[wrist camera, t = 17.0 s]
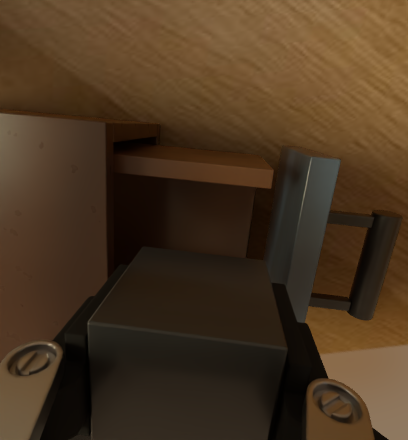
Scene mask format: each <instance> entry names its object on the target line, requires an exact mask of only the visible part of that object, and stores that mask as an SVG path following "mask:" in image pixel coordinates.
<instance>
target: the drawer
mask: <svg viewBox="0 0 408 440" xmlns="http://www.w3.org/2000/svg"><path fill="white" fill-rule="evenodd" d="M113 157H114V271H115V270H116V269H117V267H118V266H119V265H120V264H123V265H130V263H131V262H132V261H133V259H134V258H135V257H136V255H137V254H138V252H139V251H140V250H141V248H142V247H144V246H145V247H153V248H162V249H171V250H179V251H188V252H196V253H205V254H213V255H222V256H231V257H239V258H246V256H247V249H248V242H249V235H250V228H251V221H252V214H253V207H254V200H255V193H256V187H257V188H267V189H271V188H272V182H273V175H274V170H273V169H272V168H271V167H270V166H269V165H268V164H267V163H266V161H265V160H264V159H263V158H262V157H261V156H259V155H254V154H243V153H233V152H223V151H212V150H202V149H192V148H182V147H171V146H161V145H151V144H140V143H130V142H113ZM340 163H341V160H340V159H338V158H334V157H331V156H328V155H325V154H321V153H318V152H315V151H312V150H308V149H305V148H302V147H295V146H284V145H283V146H282V148H281V154H280V160H279V166H278V172H277V178H276V185H275V191H274V197H273V203H272V209H271V215H270V222H269V228H268V234H267V240H266V246H265V252H264V258H263V260H264V261H266V264H267V268H268V272H269V276H270V280H271V282H272V283H280V284H285V286H286V289H287V292H288V295H289V298H290V301H291V304H292V307H293V310H294V313H295V316H296V320H297V322H301V323H305V319H306V315H307V310H308V306H312V307H320V308H328V309H336V310H345V311H347V312H348V313H349V314H350V315H351V316H353V317H355V318H357V319H361V320H371V319H372V318H373V315H374V311H375V308H376V305H377V302H378V298H379V295H380V292H381V288H382V285H383V282H384V279H385V275H386V272H387V269H388V265H389V262H390V259H391V256H392V252H393V249H394V246H395V242H396V239H397V236H398V233H399V229H400V226H401V223H402V219H403V216H402V215H400V214H397V213H394V212H390V211H384V210H373V211H372V214H371V215H369V214H361V213H352V212H342V211H333V210H330V208H331V203H332V199H333V194H334V190H335V185H336V181H337V176H338V172H339V167H340ZM327 223H330V224H339V225H348V226H358V227H367V232H366V236H365V240H364V243H363V247H362V251H361V254H360V258H359V262H358V266H357V269H356V273H355V277H354V280H353V284H352V288H351V292H350V295H349V299H348V297H342V296H334V295H326V294H317V293H311V292H312V288H313V283H314V279H315V274H316V270H317V266H318V261H319V257H320V252H321V248H322V243H323V239H324V234H325V230H326V225H327Z"/></svg>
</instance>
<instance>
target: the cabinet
mask: <svg viewBox="0 0 408 440" xmlns="http://www.w3.org/2000/svg"><path fill="white" fill-rule="evenodd" d="M159 139H160V124H158V123H147V122H137V121H126V120H115V119H104V118H94V117H83V116H72V115H61V114H50V113H40V112H29V111H18V110H7V109H0V363H1V362H2V360H3V359H4V358H5V357H6V355H7V354H8V353H9V352H11V351H12V350H14V349H15V348H17V347H19V346H21V345H23V344H25V343H28V342H32V341H36V340H51V341H52V340H53V339H54V338H55V337H56V335H57V334H58V333H59V332H60V331H61V329H62V328H63V327H64V326H65V325H66V323H67V322H68V321H69V320H70V319H71V317H72V316H73V315H74V314H75V313H76V311H77V310H78V309H79V308H80V307H81V305H82V304H83V303H84V302H85V301H86V299H87V298H88V297H90V296H95V295H96V294H97V292H98V291H99V290H100V289H101V287H102V286H103V285H104V284H105V282H106V281H107V280H108V279H109V277H110V276H111V275H112V274H113V272H114V157H113V142H130V143H140V144H151V145H159Z"/></svg>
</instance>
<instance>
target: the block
mask: <svg viewBox="0 0 408 440" xmlns="http://www.w3.org/2000/svg"><path fill="white" fill-rule="evenodd" d="M87 328H88V354H89V380H90V407H91V433H92V440H269V437H270V432H271V427H272V423H273V418H274V413H275V408H276V404H277V399H278V394H279V390H280V385H281V380H282V375H283V371H284V366H285V361H286V356H287V352H288V347H287V343H286V339H285V335H284V332H283V328H282V324H281V320H280V316H279V312H278V308H277V304H276V300H275V296H274V292H273V288H272V284H271V280H270V276H269V272H268V268H267V264H266V261H264V260H256V259H248V258H239V257H231V256H222V255H213V254H205V253H196V252H188V251H179V250H171V249H162V248H153V247H145V246H144V247H142V248H141V250H140V251H139V252H138V254H137V255H136V257H135V258H134V259H133V261H132V262H131V263H130V265H129V266H128V267H127V269H126V270H125V272H124V273H123V274H122V276H121V277H120V278H119V280H118V281H117V282H116V284H115V285H114V287H113V288H112V289H111V291H110V292H109V293H108V295H107V296H106V298H105V299H104V300H103V302H102V303H101V304H100V306H99V307H98V308H97V310H96V311H95V313H94V314H93V315H92V317H91V318H90V319H89V321H88V323H87Z"/></svg>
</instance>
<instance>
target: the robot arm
mask: <svg viewBox="0 0 408 440" xmlns="http://www.w3.org/2000/svg"><path fill="white" fill-rule="evenodd" d="M128 266H129V265H123V264H120V265H119V266H118V267H117V269H116V270H115V271H114V272H113V274H112V275H111V276H110V277H109V279H108V280H107V281H106V282H105V284H104V285H103V286H102V287H101V289H100V290H99V291H98V292H97V294H96V295H95V296H90V297H88V298H87V299H86V301H85V302H84V303H83V304H82V305H81V307H80V308H79V309H78V310H77V311H76V313H75V314H74V315H73V316H72V317H71V319H70V320H69V321H68V322H67V323H66V325H65V326H64V327H63V328H62V329H61V331H60V332H59V333H58V334H57V335H56V337H55V338H54V339H53V340H52V341H51V340H36V341H32V342H28V343H25V344H23V345H21V346H19V347H17V348H15V349H14V350H12V351H11V352H9V353H8V354H7V355H6V357H5V358H4V359H3V360H2V362H1V363H0V440H69V439H71V438H72V437H74V436H76V435H78V434H79V435H85V436H90V433H91V407H90V380H89V354H88V328H87V323H88V321H89V319H90V318H91V317H92V315H93V314H94V313H95V311H96V310H97V308H98V307H99V306H100V304H101V303H102V302H103V300H104V299H105V298H106V296H107V295H108V293H109V292H110V291H111V289H112V288H113V287H114V285H115V284H116V282H117V281H118V280H119V278H120V277H121V276H122V274H123V273H124V272H125V270H126V269H127V267H128ZM271 284H272V288H273V292H274V296H275V300H276V304H277V308H278V312H279V316H280V320H281V324H282V328H283V332H284V335H285V339H286V343H287V347H288V352H287V356H286V361H285V366H284V371H283V375H282V380H281V385H280V390H279V394H278V399H277V404H276V408H275V413H274V418H273V423H272V427H271V432H270V437H269V440H388V439H387V438H385V437H384V436H383V435H381V434H380V433H379V432H378V431H376V430H375V429H373V428H372V425H371V420H370V416H369V412H368V409H367V407H366V404H365V403H364V401H363V400H362V398H361V397H360V396H359V395H358V394H357V393H356V392H355V391H354V390H353V389H351V388H350V387H348V386H346V385H345V384H343V383H341V382H338V381H336V380H333V379H328V376H327V373H326V371H325V368H324V366H323V363H322V360H321V358H320V355H319V352H318V350H317V347H316V345H315V342H314V339H313V337H312V334H311V331H310V329H309V326H308V325H307V324H306V323H301V322H297V320H296V316H295V313H294V310H293V307H292V304H291V301H290V298H289V295H288V292H287V289H286V286H285V284H280V283H272V282H271Z"/></svg>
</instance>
